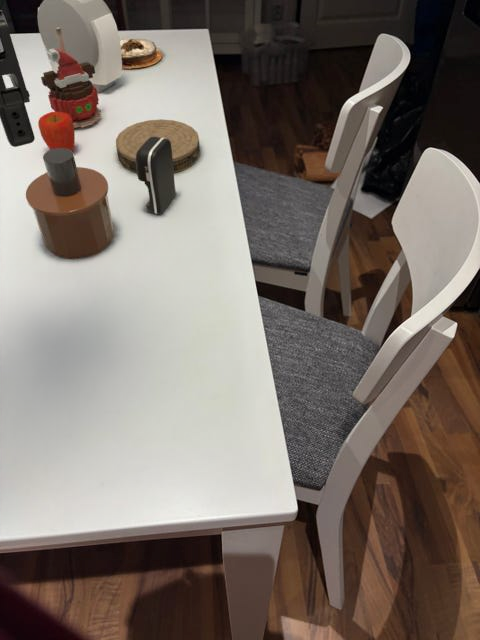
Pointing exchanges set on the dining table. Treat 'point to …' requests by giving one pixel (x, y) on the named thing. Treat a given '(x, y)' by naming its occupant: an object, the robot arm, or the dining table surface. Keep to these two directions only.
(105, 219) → the crock
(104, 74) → the alarm clock
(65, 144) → the apple
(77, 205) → the crock lid
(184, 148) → the wood log slice
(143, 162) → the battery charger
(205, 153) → the dining table surface
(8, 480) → the dining table surface
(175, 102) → the dining table surface
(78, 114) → the cake
